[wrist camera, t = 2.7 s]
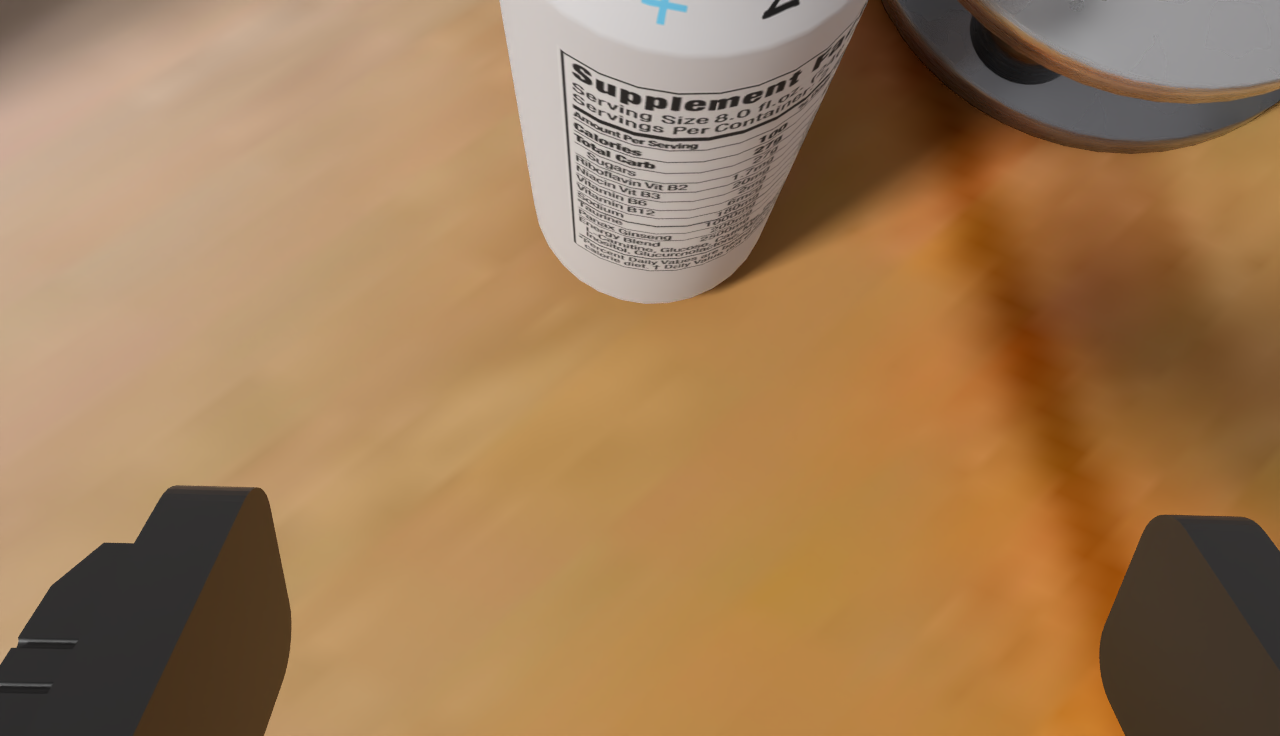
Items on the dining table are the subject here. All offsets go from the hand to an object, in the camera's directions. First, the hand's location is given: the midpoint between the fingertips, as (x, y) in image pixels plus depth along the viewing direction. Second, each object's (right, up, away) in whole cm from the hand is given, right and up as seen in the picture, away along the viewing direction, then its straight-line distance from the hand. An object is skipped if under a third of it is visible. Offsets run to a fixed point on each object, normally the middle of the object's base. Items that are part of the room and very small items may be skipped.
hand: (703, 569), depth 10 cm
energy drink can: (0, +6, +18) cm, 19 cm away
